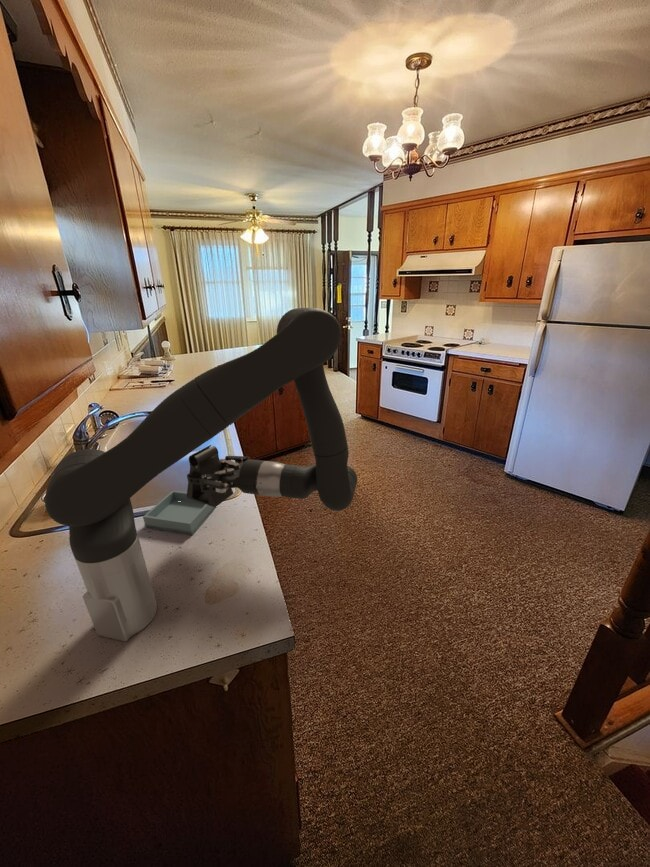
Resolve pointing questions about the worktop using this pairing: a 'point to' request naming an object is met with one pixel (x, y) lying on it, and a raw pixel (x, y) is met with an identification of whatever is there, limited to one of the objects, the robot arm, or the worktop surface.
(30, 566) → the worktop surface
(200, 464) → the phone stand
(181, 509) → the slate tray
